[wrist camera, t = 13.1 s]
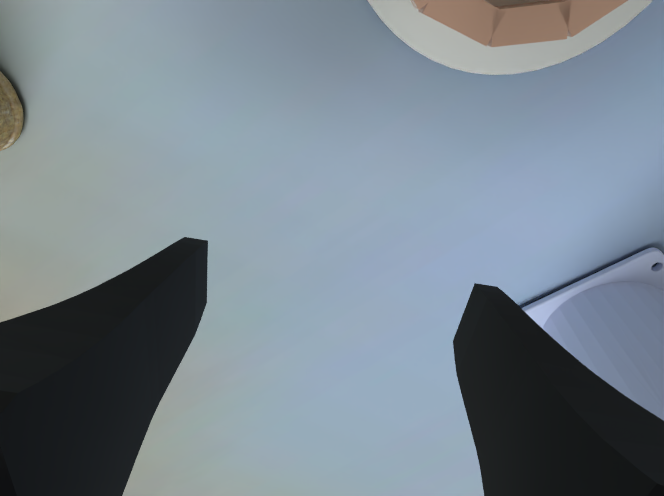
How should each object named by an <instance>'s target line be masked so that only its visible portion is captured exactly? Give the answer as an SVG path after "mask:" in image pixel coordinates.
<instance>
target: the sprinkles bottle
mask: <svg viewBox="0 0 664 496" xmlns="http://www.w3.org/2000/svg"><path fill="white" fill-rule="evenodd" d="M22 127H23V108H22V105H21V103H20V101H19V99H18V97H17V94H16V92H15V90H14V88H13V87H12V85H11V83H10V82H9V81H8V79H7V78H6V77H5V76H4V75H3V74H2V72H1V71H0V151H1V150H4V149H6V148H8V147H10V146H11V145H13V144H14V143H15V141H16V140H17V139H18V138H19V136H20V134H21V130H22Z"/></svg>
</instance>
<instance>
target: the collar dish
mask: <svg viewBox="0 0 664 496" xmlns="http://www.w3.org/2000/svg"><path fill="white" fill-rule="evenodd" d="M367 1H368V2H369V3H370V5H371V6H372V8H373V9H374V11H375V12H376V13H377V15H378V16H379V18H380V19H381V20H382V21H383V22H384V23H385V24H386V25H387V26H388V28H389V29H390V30H391V31H392V32H393V33H394V34H395V35H396V36H397V37H398V38H400V39H401V40H402V41H403V42H405V43H406V44H407V45H408V46H410V47H411V48H412V49H413V50H415V51H417V52H419V53H420V54H422V55H424V56H425V57H427V58H429V59H430V60H433V61H435V62H437V63H440V64H442V65H445V66H447V67H450V68H453V69H457V70H461V71H465V72H469V73H477V74H487V75H506V74H518V73H524V72H530V71H536V70H539V69H542V68H546V67H549V66H552V65H556V64H559V63H561V62H564V61H566V60H568V59H571V58H573V57H575V56H577V55H580V54H582V53H584V52H585V51H587V50H589V49H591V48H592V47H594V46H596V45H598V44H599V43H601V42H603V41H604V40H606V39H607V38H609V37H610V36H611V35H613V34H614V33H616V32H617V31H618V30H620V29H621V28H623V27H624V26H625V25H627V24H628V23H629V22H630V21H631V20H632V19H633V18H635V17H636V16H637V15H638V14H639V13H640V12H641V11H643V10H644V9H645V8H646V7H647V6H648V5H649V4H650V3H651V2H652V1H653V0H367Z"/></svg>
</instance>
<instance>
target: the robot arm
mask: <svg viewBox="0 0 664 496" xmlns="http://www.w3.org/2000/svg"><path fill="white" fill-rule="evenodd" d="M207 254H208V241H206V240H200V239H193V238H187V237H184V238H182V239H180V240H179V241H177V242H175V243H173V244H172V245H170V246H168V247H167V248H165V249H163V250H162V251H160V252H159V253H157V254H155V255H154V256H152V257H150V258H148V259H147V260H145V261H143V262H142V263H140V264H138V265H136V266H135V267H133V268H131V269H129V270H128V271H126V272H124V273H122V274H120V275H118V276H116V277H114V278H112V279H110V280H108V281H106V282H104V283H102V284H101V285H99V286H97V287H94V288H92V289H90V290H88V291H86V292H83V293H81V294H79V295H77V296H74V297H72V298H69V299H67V300H64V301H62V302H60V303H57V304H54V305H52V306H49V307H46V308H43V309H40V310H37V311H34V312H31V313H28V314H25V315H22V316H19V317H16V318H13V319H10V320H7V321H4V322H0V496H122V495H123V492H124V489H125V487H126V484H127V481H128V479H129V476H130V473H131V471H132V468H133V465H134V463H135V460H136V457H137V455H138V452H139V450H140V447H141V445H142V442H143V440H144V437H145V435H146V432H147V430H148V427H149V425H150V422H151V420H152V417H153V415H154V413H155V411H156V409H157V407H158V405H159V402H160V400H161V399H162V397H163V395H164V393H165V391H166V389H167V387H168V385H169V383H170V382H171V380H172V378H173V376H174V374H175V372H176V370H177V368H178V366H179V364H180V363H181V361H182V359H183V357H184V355H185V353H186V351H187V349H188V347H189V345H190V343H191V341H192V339H193V338H194V336H195V333H196V331H197V328H198V325H199V323H200V320H201V317H202V314H203V311H204V309H205V306H206V303H207ZM655 263H658V264H657V265H656V266H654V267H652V265H653V264H655ZM453 345H454V356H455V364H456V372H457V377H458V381H459V385H460V389H461V393H462V397H463V401H464V405H465V408H466V412H467V416H468V420H469V424H470V427H471V431H472V435H473V439H474V442H475V446H476V450H477V455H478V459H479V464H480V469H481V476H482V483H483V489H484V496H664V254H663V253H662V252H661V251H660V250H659V249H657V248H648V249H645V250H643V251H641V252H639V253H637V254H635V255H633V256H631V257H628V258H626V259H624V260H622V261H620V262H618V263H616V264H614V265H612V266H609V267H607V268H605V269H603V270H601V271H599V272H597V273H595V274H593V275H590V276H588V277H586V278H584V279H582V280H580V281H578V282H576V283H574V284H571V285H569V286H567V287H565V288H563V289H561V290H559V291H557V292H555V293H552V294H550V295H548V296H546V297H544V298H542V299H540V300H538V301H536V302H533V303H531V304H529V305H527V306H525V307H523V308H520V307H519V306H518V305H517V304H516V303H515V302H514V301H513V300H512V299H511V298H510V297H509V296H507V295H506V294H505V293H504V292H503V291H502V290H500V289H499V288H498V287H494V286H488V285H482V284H476V283H475V284H474V287H473V290H472V292H471V295H470V298H469V300H468V303H467V305H466V308H465V311H464V313H463V316H462V319H461V321H460V324H459V327H458V329H457V332H456V335H455V337H454V340H453Z"/></svg>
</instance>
